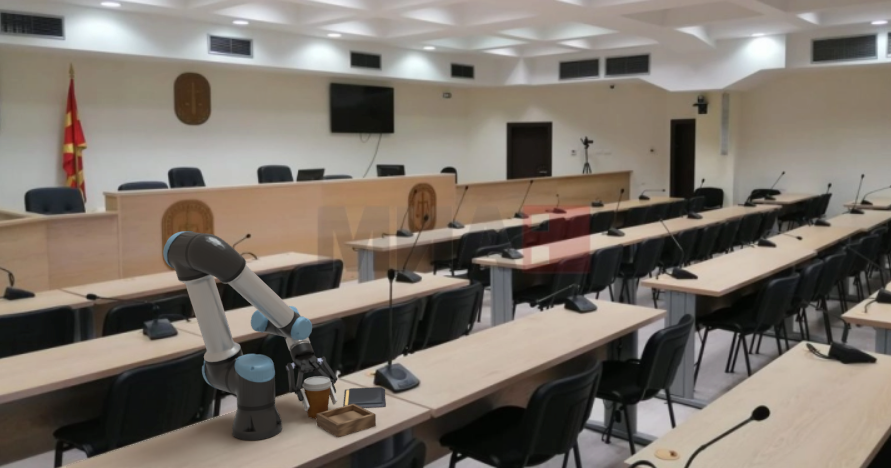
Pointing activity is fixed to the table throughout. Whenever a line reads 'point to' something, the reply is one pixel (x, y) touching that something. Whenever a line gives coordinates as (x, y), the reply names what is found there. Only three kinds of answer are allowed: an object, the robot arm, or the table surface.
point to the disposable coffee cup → (317, 394)
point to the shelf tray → (346, 420)
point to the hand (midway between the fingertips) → (321, 405)
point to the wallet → (365, 397)
